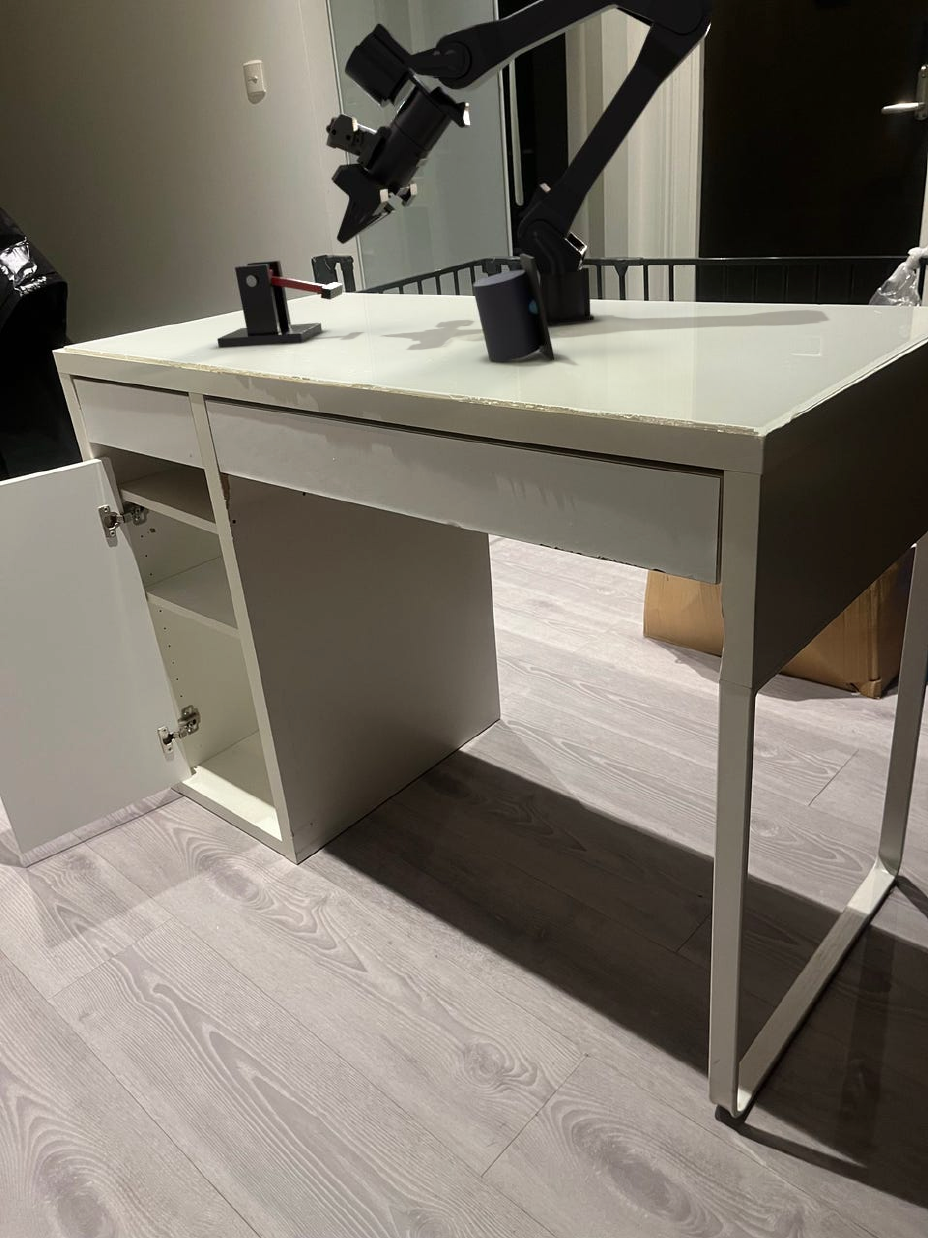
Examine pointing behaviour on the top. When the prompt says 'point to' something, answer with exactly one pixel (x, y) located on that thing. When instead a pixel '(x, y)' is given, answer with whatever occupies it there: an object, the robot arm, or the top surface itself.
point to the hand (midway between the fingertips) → (340, 241)
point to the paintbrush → (309, 286)
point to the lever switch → (265, 310)
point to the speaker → (513, 313)
